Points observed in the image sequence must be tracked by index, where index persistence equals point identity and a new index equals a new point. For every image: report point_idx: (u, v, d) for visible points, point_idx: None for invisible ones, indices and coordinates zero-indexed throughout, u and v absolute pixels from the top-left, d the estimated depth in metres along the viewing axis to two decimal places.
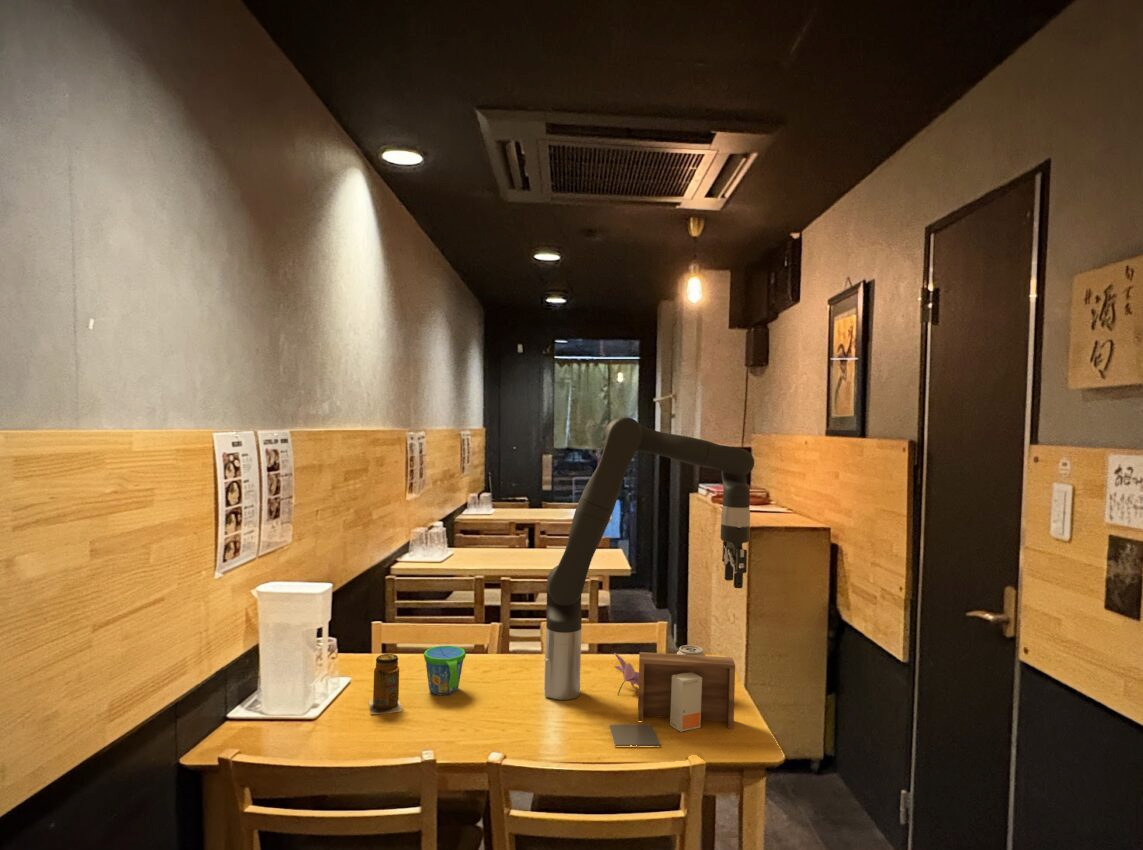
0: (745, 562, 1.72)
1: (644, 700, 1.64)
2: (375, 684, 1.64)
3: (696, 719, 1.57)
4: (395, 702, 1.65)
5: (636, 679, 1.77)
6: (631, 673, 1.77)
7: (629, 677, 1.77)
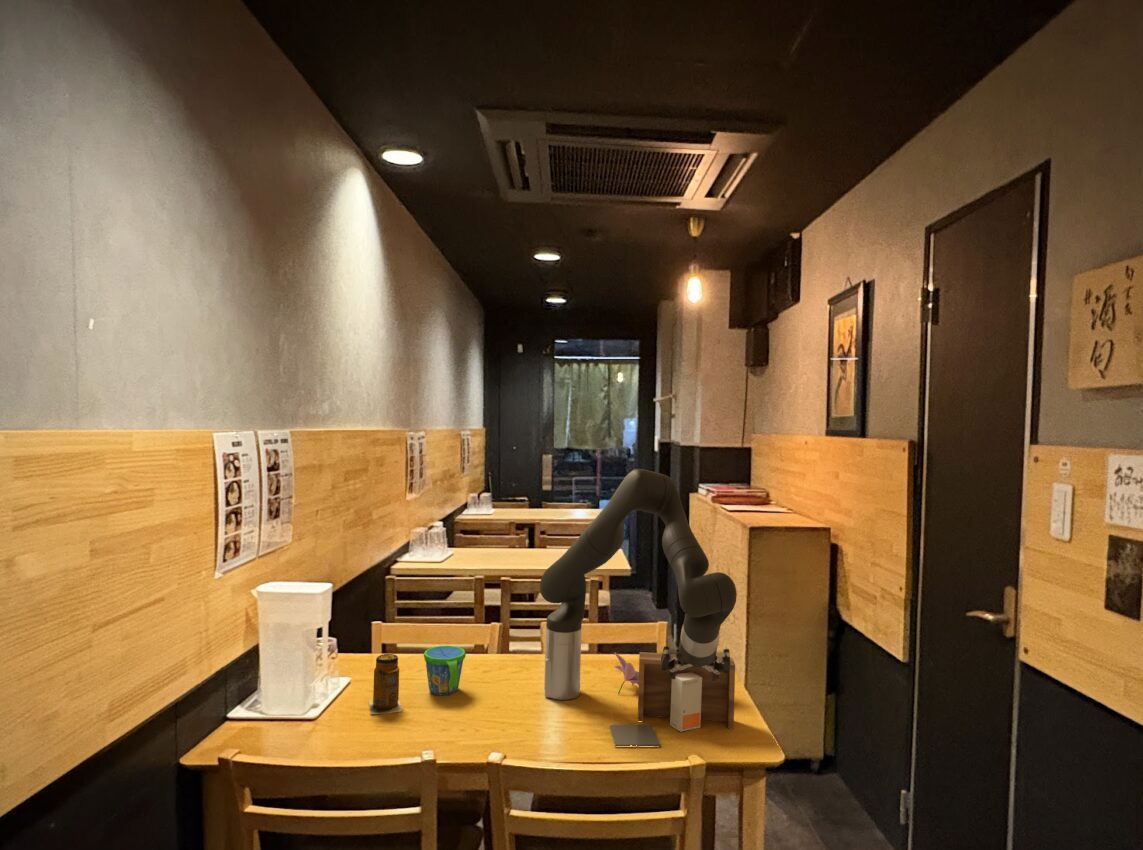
0: (662, 662, 1.42)
1: (644, 700, 1.64)
2: (375, 684, 1.64)
3: (696, 719, 1.57)
4: (395, 702, 1.65)
5: (636, 679, 1.78)
6: (631, 673, 1.77)
7: (629, 677, 1.77)
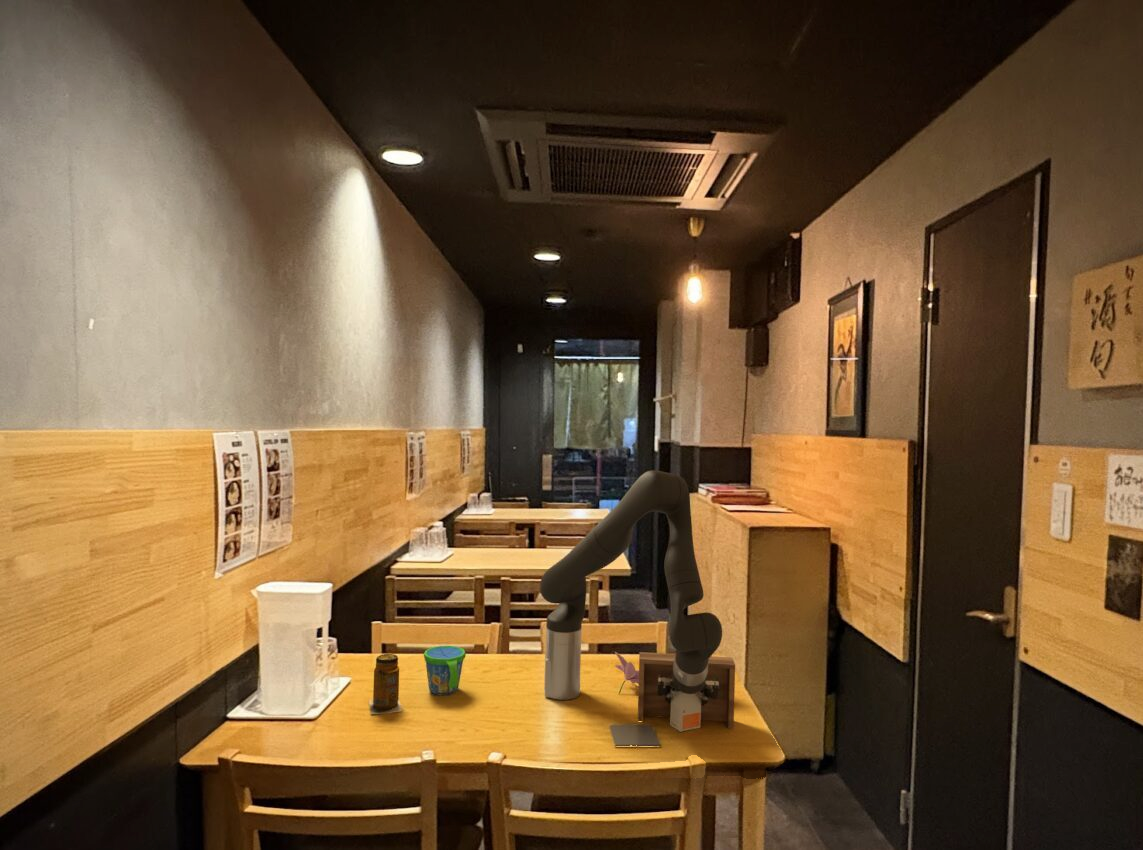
0: None
1: (644, 700, 1.64)
2: (375, 684, 1.64)
3: (697, 719, 1.57)
4: (395, 702, 1.65)
5: (637, 678, 1.78)
6: (632, 672, 1.77)
7: (630, 676, 1.78)
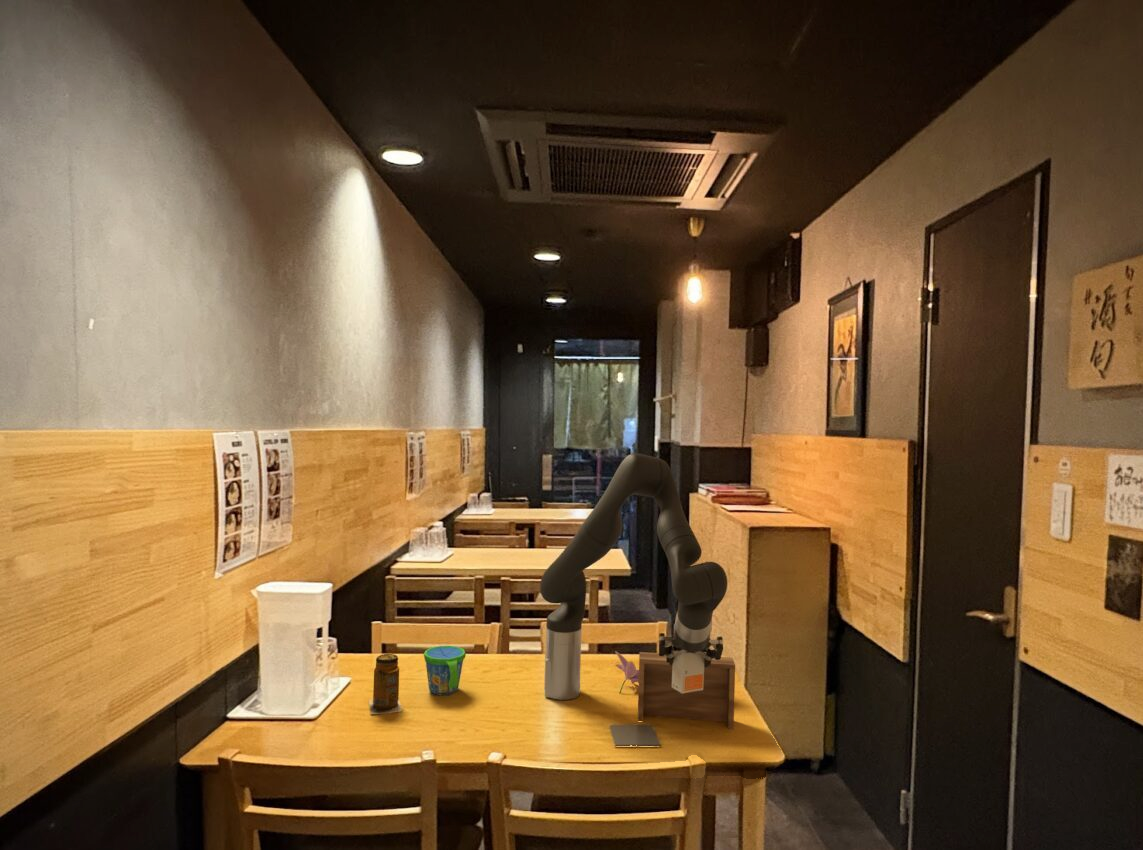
0: (659, 648, 1.48)
1: (644, 700, 1.64)
2: (375, 684, 1.64)
3: (699, 681, 1.50)
4: (395, 702, 1.65)
5: (637, 677, 1.79)
6: (633, 671, 1.78)
7: (631, 675, 1.78)
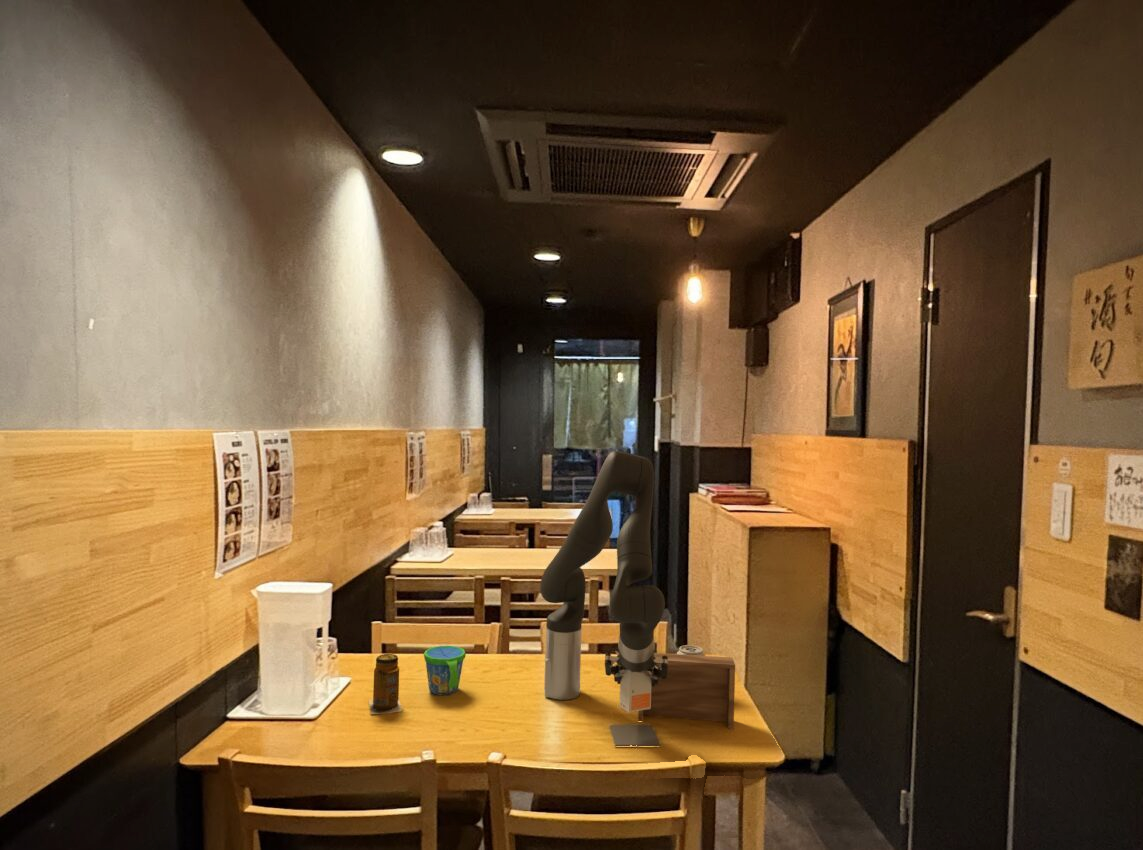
0: (605, 668, 1.49)
1: None
2: (375, 684, 1.64)
3: (647, 700, 1.51)
4: (395, 702, 1.65)
5: None
6: None
7: None
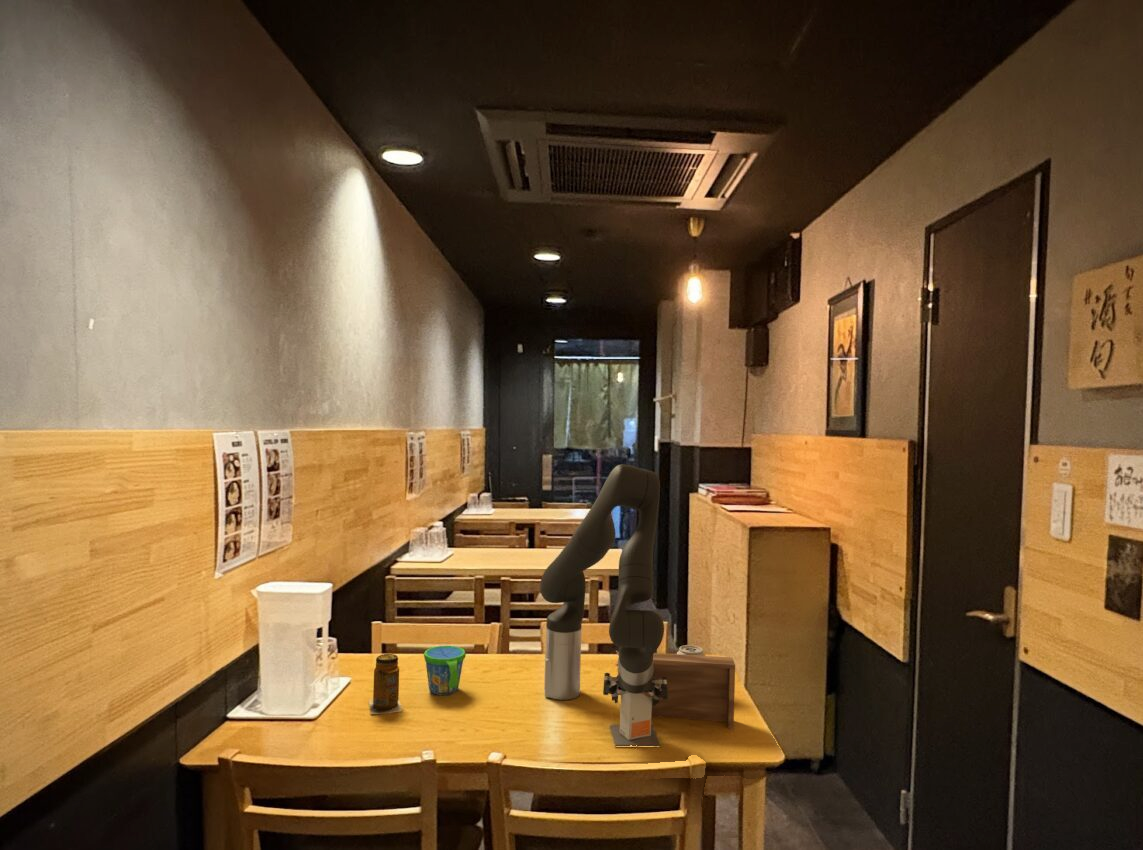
0: None
1: None
2: (375, 684, 1.64)
3: (647, 727, 1.51)
4: (395, 702, 1.65)
5: None
6: None
7: None
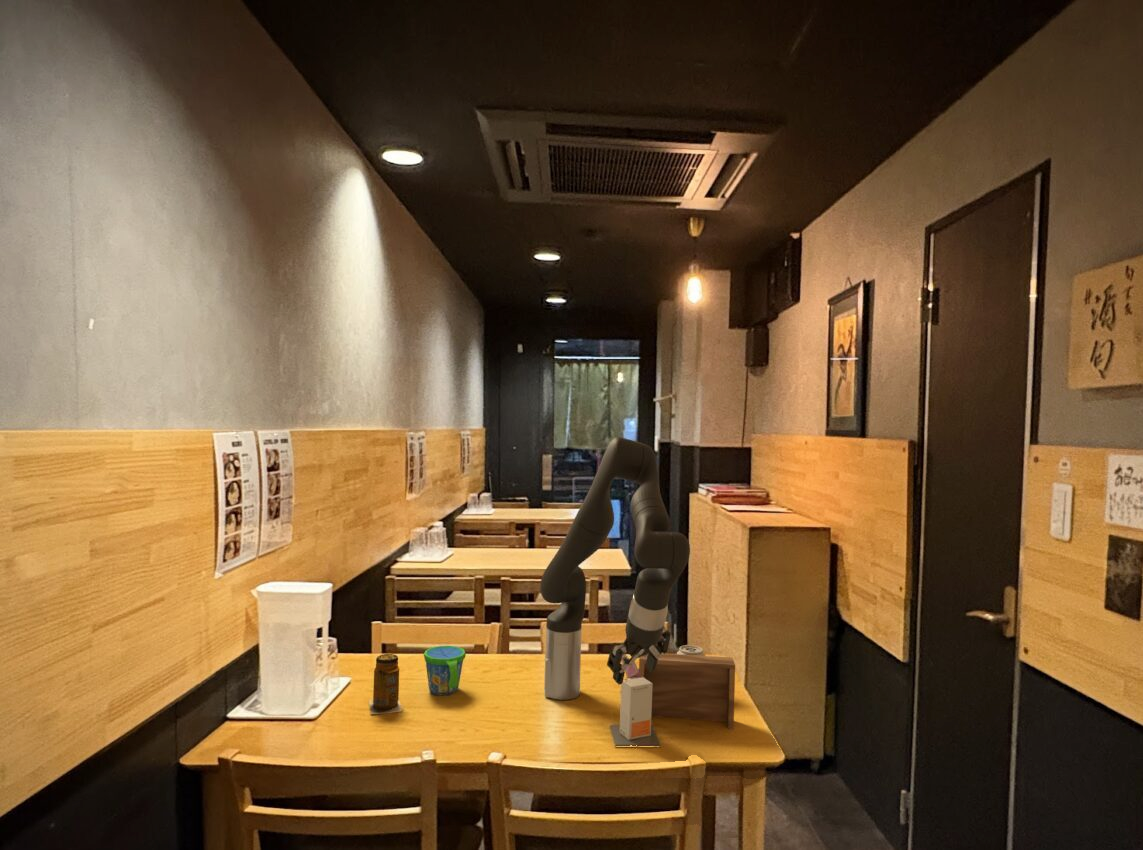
0: (614, 662, 1.36)
1: None
2: (375, 684, 1.64)
3: (647, 727, 1.51)
4: (395, 702, 1.65)
5: (638, 676, 1.80)
6: (634, 670, 1.79)
7: (631, 674, 1.79)
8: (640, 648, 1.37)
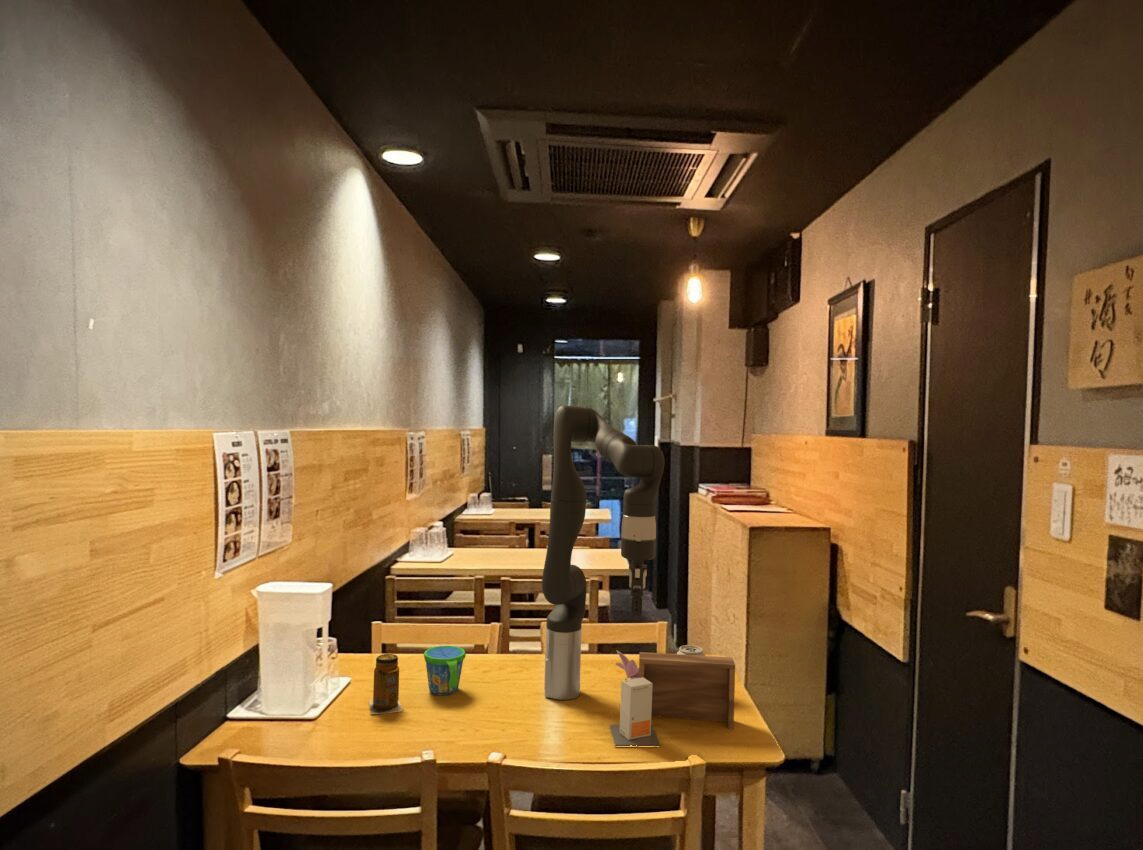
0: (641, 584, 1.41)
1: None
2: (375, 684, 1.64)
3: (647, 727, 1.51)
4: (395, 702, 1.65)
5: (638, 675, 1.80)
6: (634, 670, 1.79)
7: (632, 674, 1.80)
8: (645, 568, 1.46)
